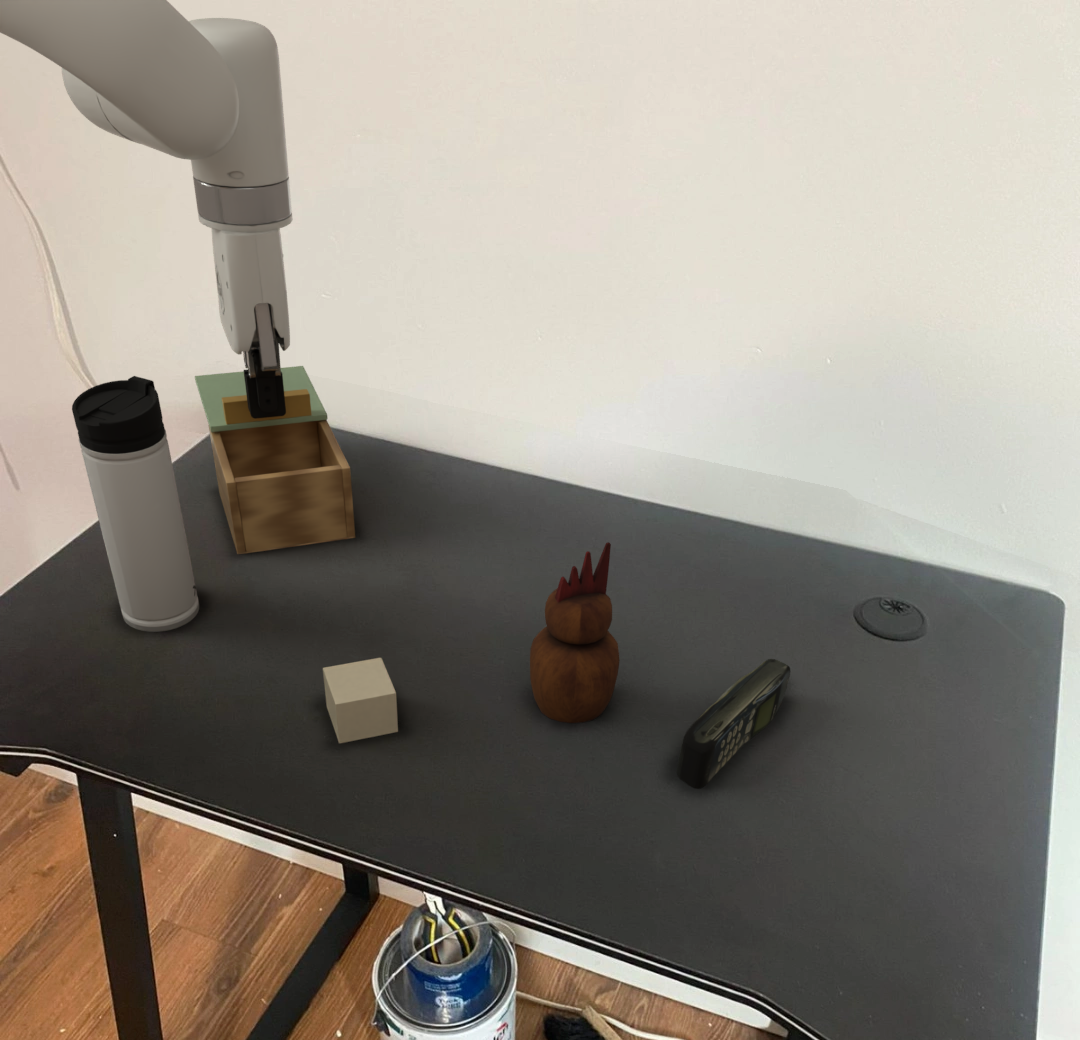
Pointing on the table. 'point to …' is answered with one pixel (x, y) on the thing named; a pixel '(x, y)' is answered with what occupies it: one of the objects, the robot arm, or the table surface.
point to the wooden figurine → (576, 647)
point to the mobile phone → (732, 722)
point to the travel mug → (137, 502)
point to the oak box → (283, 485)
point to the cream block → (360, 700)
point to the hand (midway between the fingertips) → (267, 413)
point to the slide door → (231, 408)
